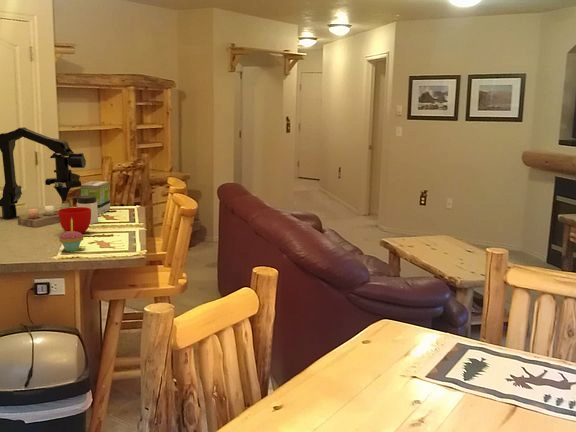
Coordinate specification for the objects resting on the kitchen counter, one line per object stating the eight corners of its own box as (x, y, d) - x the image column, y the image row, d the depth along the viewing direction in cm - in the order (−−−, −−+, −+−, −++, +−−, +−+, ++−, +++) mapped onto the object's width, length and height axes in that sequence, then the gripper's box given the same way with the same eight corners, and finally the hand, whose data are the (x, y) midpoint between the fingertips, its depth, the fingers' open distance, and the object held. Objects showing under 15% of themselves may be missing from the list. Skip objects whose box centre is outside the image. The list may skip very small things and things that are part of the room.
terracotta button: (27, 218, 268) (26, 209, 267) (34, 216, 271) (34, 208, 270) (32, 219, 266) (32, 210, 265) (40, 217, 269) (40, 208, 268)
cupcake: (63, 247, 229) (61, 216, 227) (86, 246, 230) (84, 216, 227) (57, 252, 221) (54, 220, 218) (80, 252, 221) (78, 220, 219)
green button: (59, 212, 282) (58, 203, 281) (66, 210, 285) (65, 202, 285) (64, 213, 280) (64, 204, 279) (71, 211, 283) (71, 203, 282)
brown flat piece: (18, 224, 269) (17, 218, 268) (64, 215, 290) (63, 209, 289) (35, 227, 262) (34, 220, 262) (81, 218, 284) (80, 211, 283)
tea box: (101, 215, 291) (100, 185, 288) (81, 215, 291) (79, 184, 289) (111, 209, 306) (109, 180, 303) (91, 209, 306) (89, 180, 303)
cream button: (43, 215, 275) (42, 206, 274) (50, 213, 278) (50, 205, 277) (49, 216, 273) (48, 207, 272) (56, 214, 276) (56, 206, 275)
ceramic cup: (79, 227, 264) (78, 204, 262) (97, 233, 252) (96, 210, 250) (50, 231, 255) (48, 208, 253) (68, 238, 243) (66, 214, 241)
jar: (100, 223, 273) (99, 197, 270) (83, 225, 267) (81, 198, 265) (93, 220, 279) (91, 194, 277) (75, 222, 274) (74, 196, 272)
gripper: (89, 167, 281) (91, 200, 284) (63, 164, 290) (65, 196, 293) (70, 169, 271) (72, 203, 274) (43, 167, 281) (45, 200, 284)
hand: (64, 200), depth 282 cm, fingers closed
